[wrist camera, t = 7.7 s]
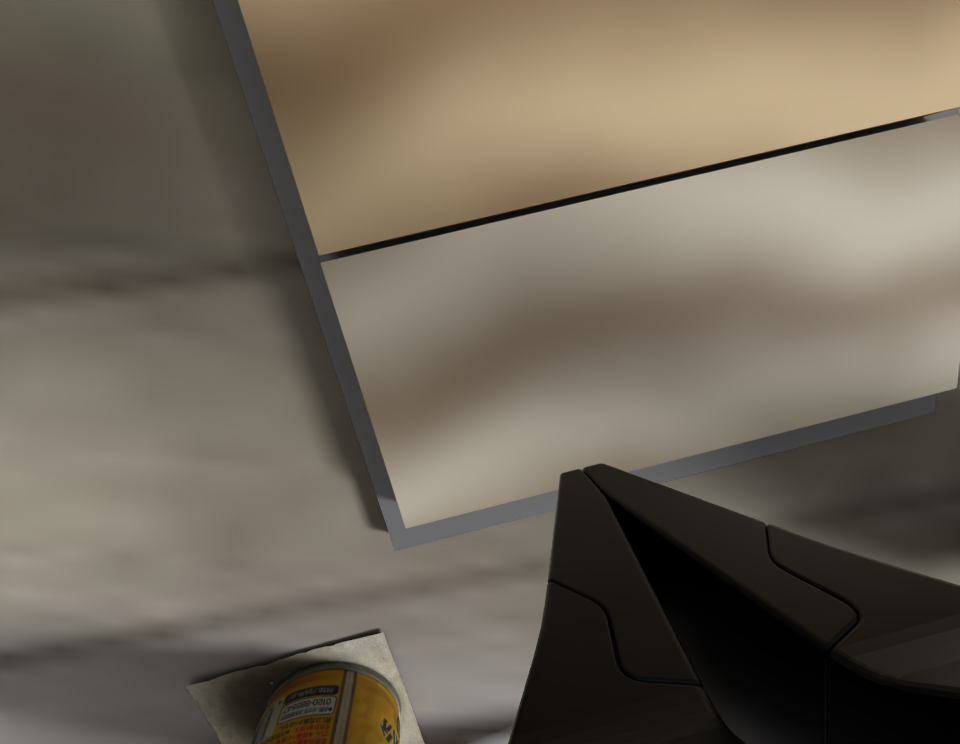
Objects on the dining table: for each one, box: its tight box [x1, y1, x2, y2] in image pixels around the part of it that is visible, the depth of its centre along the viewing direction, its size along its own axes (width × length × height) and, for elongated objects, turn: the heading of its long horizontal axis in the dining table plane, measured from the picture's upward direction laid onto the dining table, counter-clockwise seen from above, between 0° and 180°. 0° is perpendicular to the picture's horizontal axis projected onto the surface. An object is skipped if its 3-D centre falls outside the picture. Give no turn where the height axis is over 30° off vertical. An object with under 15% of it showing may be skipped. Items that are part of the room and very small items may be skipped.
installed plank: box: [238, 0, 960, 256], centre depth 12 cm, size 9×20×2 cm, turn 103°
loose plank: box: [321, 114, 960, 528], centre depth 15 cm, size 9×20×2 cm, turn 103°
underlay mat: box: [213, 0, 958, 551], centre depth 15 cm, size 23×22×1 cm
